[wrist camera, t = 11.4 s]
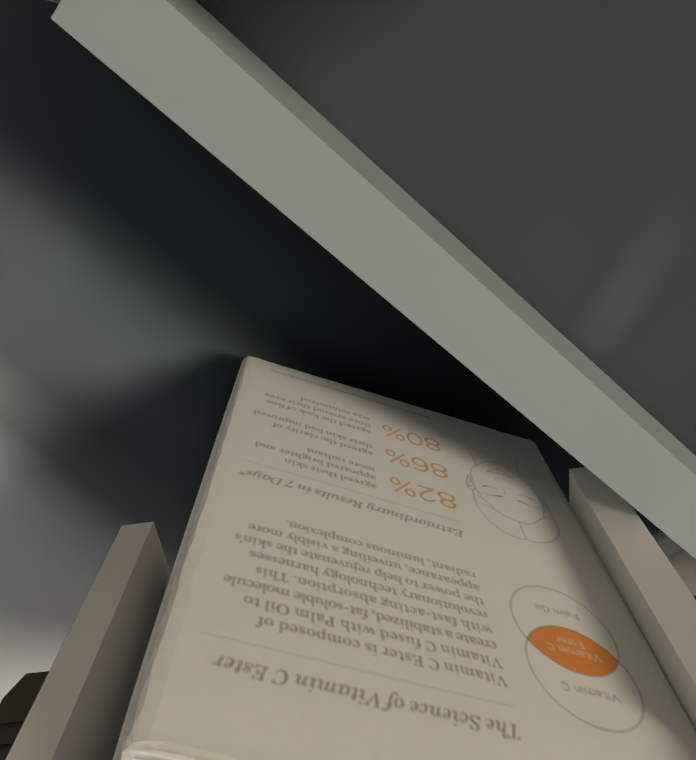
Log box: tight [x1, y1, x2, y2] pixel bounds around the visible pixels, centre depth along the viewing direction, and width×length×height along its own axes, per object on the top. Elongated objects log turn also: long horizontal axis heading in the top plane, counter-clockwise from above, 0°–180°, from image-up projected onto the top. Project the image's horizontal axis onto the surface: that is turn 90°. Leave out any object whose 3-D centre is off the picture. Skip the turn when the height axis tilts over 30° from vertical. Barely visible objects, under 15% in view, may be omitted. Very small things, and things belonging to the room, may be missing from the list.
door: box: [47, 0, 696, 596], centre depth 14 cm, size 21×2×6 cm, turn 49°
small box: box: [113, 356, 696, 760], centre depth 13 cm, size 8×6×10 cm
